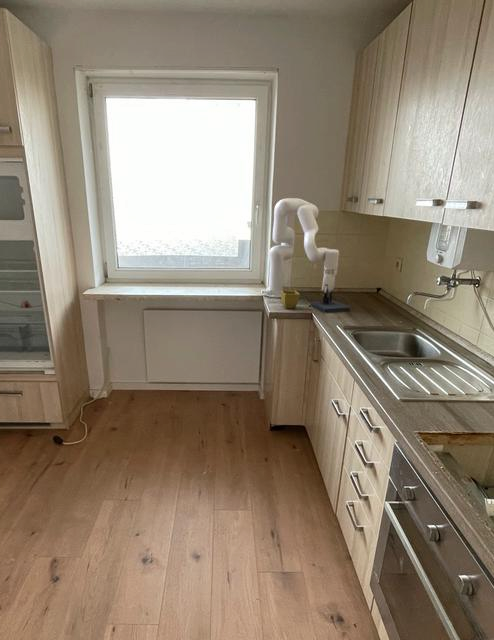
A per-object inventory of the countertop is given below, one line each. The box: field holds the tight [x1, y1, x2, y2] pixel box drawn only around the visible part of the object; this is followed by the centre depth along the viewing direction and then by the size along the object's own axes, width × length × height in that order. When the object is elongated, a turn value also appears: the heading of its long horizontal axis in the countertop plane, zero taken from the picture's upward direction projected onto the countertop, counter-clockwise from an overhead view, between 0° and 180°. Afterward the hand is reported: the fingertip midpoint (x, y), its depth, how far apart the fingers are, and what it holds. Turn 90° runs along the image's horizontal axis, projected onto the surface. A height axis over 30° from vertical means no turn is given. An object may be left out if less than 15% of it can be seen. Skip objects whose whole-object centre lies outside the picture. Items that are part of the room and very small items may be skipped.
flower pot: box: [280, 290, 301, 309], centre depth 242 cm, size 9×9×9 cm
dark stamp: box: [319, 293, 334, 305], centre depth 245 cm, size 6×6×8 cm
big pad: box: [311, 300, 351, 313], centre depth 243 cm, size 16×16×2 cm
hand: (327, 302), depth 246 cm, fingers open, 5 cm apart
